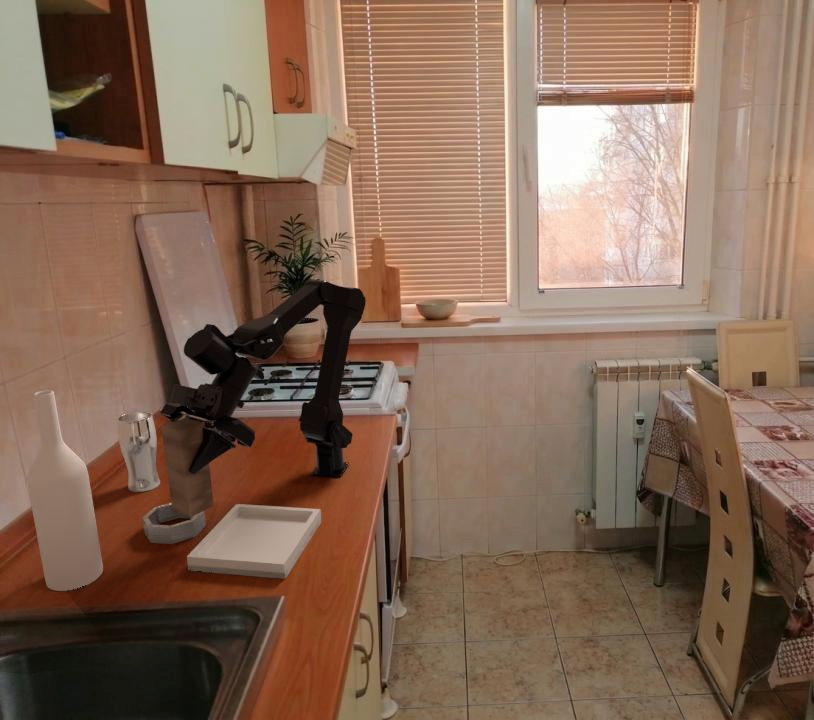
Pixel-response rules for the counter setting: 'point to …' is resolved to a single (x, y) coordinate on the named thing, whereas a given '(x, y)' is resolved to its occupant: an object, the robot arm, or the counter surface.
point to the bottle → (62, 506)
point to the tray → (256, 541)
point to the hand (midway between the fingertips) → (181, 469)
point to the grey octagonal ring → (172, 532)
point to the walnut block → (186, 467)
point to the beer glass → (139, 449)
